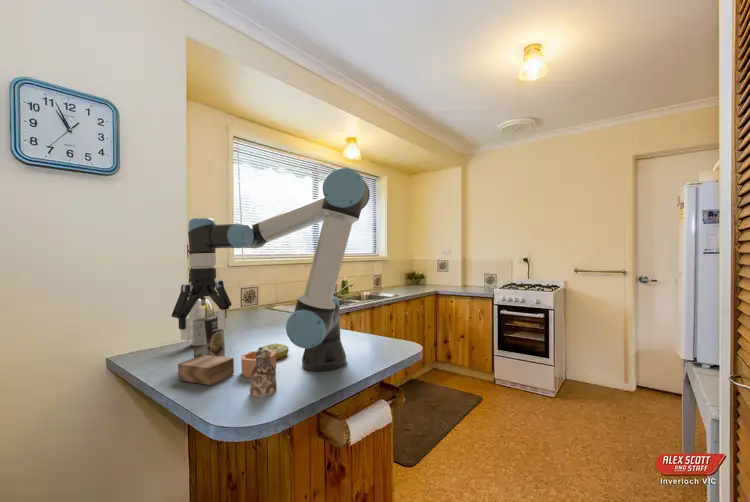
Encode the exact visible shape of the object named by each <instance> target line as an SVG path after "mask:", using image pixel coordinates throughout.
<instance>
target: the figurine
mask: <svg viewBox="0 0 750 502" xmlns="http://www.w3.org/2000/svg"><path fill="white" fill-rule="evenodd" d="M262 347H263V346H261V347H258V349H257V350H258V352H257V353H256V363H257V365H255V366H254V368H253V369H252V372H251V378H250V384H249V394H250V396H251V395H252V397H254V396H257V397H256V398H265V397H269V396H271V395H273V394H275V393H277V389H278V387H277V386H278V385H277V384H278V383H277V378H276V377H277V376H276V371H275V369H274V367H273V365H272V364H270V353H269V352H268V351H267V350H265V349H262ZM268 395H269V396H268ZM264 396H265V397H264Z"/></svg>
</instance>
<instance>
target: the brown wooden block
mask: <svg viewBox="0 0 750 502" xmlns="http://www.w3.org/2000/svg"><path fill="white" fill-rule="evenodd" d="M234 365H235V363H234V358H233V357H226V356H225V357H220V356H211V355H202V356H199V357H196V358H194V357H193V358H191V359H188V360H185V361H182V362H180V363H178V364H177V368H178V369H177V370H178V371H177V373H178V381H183V382H188V383H189V382H190V383H196V384H199V385H200V384H201V385H208V386H212V385H211V384H213V383H215V382H217V381H219V380H221V379H223V378H226V377H228V376H230V375H232V374H233V375H234V374H235V366H234Z"/></svg>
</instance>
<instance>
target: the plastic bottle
mask: <svg viewBox="0 0 750 502" xmlns="http://www.w3.org/2000/svg"><path fill="white" fill-rule="evenodd" d="M205 312H206V309H205V308H204V306H203V305H202V299H201V297H200V298H199V299H198V300H197V301H196V303H195V305H194V306H193V308H192V309H191V311H190V313H189V314H188V318H189V328H190V340H188V342H189V345H190V346H192V347H194V345H193V320H197V319H200V318H204V317H205V315H206V314H205Z"/></svg>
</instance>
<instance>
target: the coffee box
mask: <svg viewBox="0 0 750 502" xmlns="http://www.w3.org/2000/svg"><path fill="white" fill-rule="evenodd" d="M225 344H226V343H225V329H224V330H223V329H218V315H209V316H204V318H200V319H197V320H193V345H194V346H193V358H196V357H199V356H202V355H211V356H220V357H226V352H225V351H226V349H225V348H226V346H225Z"/></svg>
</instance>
